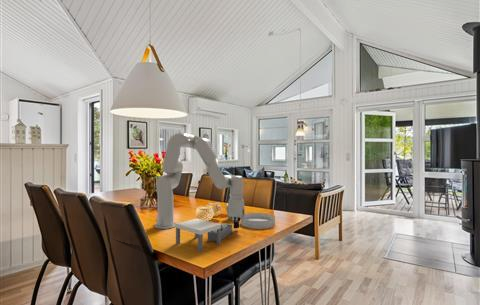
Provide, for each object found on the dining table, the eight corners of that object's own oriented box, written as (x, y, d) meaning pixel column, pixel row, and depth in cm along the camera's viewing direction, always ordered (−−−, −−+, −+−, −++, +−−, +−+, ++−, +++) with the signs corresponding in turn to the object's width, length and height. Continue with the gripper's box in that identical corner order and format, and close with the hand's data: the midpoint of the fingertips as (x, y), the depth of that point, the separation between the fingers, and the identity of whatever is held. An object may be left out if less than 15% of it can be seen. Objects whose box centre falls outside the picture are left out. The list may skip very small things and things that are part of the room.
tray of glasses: (207, 240, 140) (207, 230, 140) (222, 231, 156) (222, 222, 156) (218, 242, 137) (218, 231, 137) (232, 232, 154) (232, 223, 154)
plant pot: (222, 219, 183) (222, 206, 183) (232, 217, 190) (232, 204, 190) (231, 221, 177) (231, 208, 177) (241, 219, 183) (242, 206, 183)
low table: (175, 243, 134) (175, 223, 134) (196, 236, 145) (196, 218, 145) (200, 252, 123) (200, 230, 123) (220, 244, 134) (221, 224, 134)
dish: (273, 230, 159) (273, 222, 159) (237, 228, 163) (237, 219, 163) (276, 221, 181) (276, 213, 181) (244, 219, 185) (244, 211, 185)
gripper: (222, 196, 159) (222, 227, 159) (242, 199, 149) (242, 231, 149) (231, 194, 165) (230, 224, 165) (250, 197, 155) (250, 228, 155)
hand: (236, 227), depth 157 cm, fingers closed
